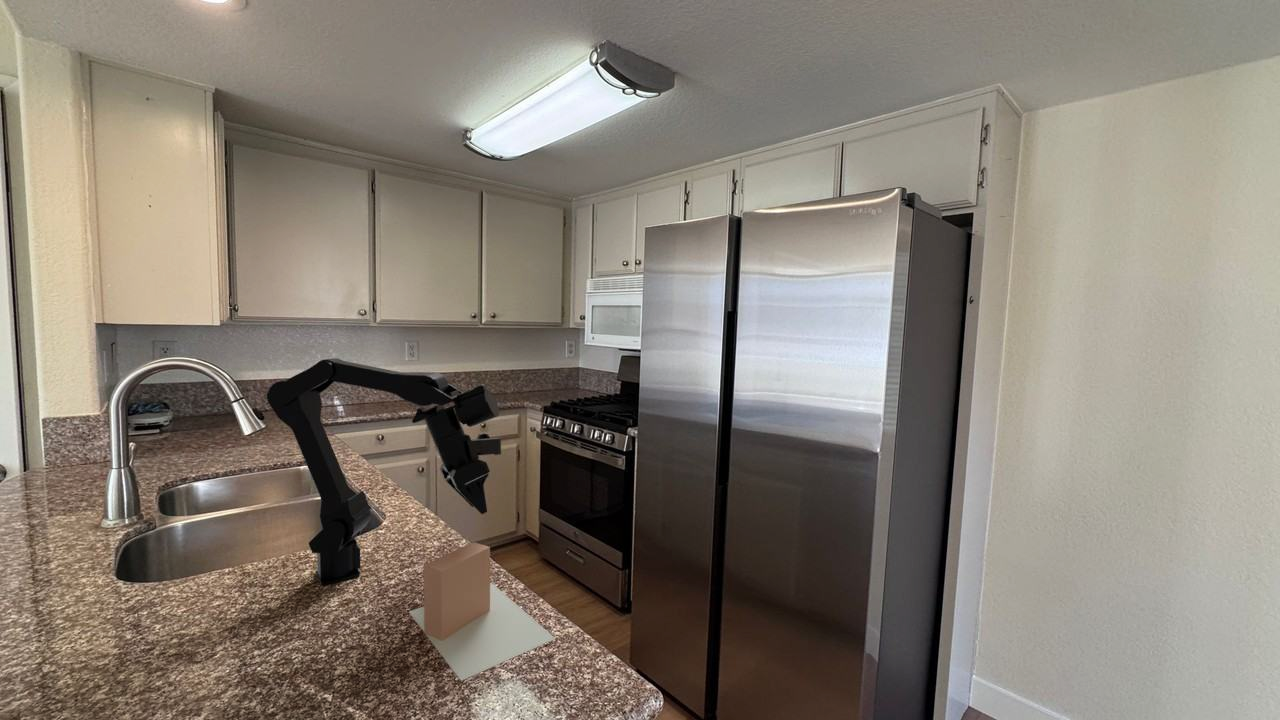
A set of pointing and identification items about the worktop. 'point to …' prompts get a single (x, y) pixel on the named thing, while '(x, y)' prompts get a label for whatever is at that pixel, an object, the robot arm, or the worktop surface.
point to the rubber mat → (489, 637)
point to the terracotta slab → (456, 590)
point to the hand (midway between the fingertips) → (479, 509)
